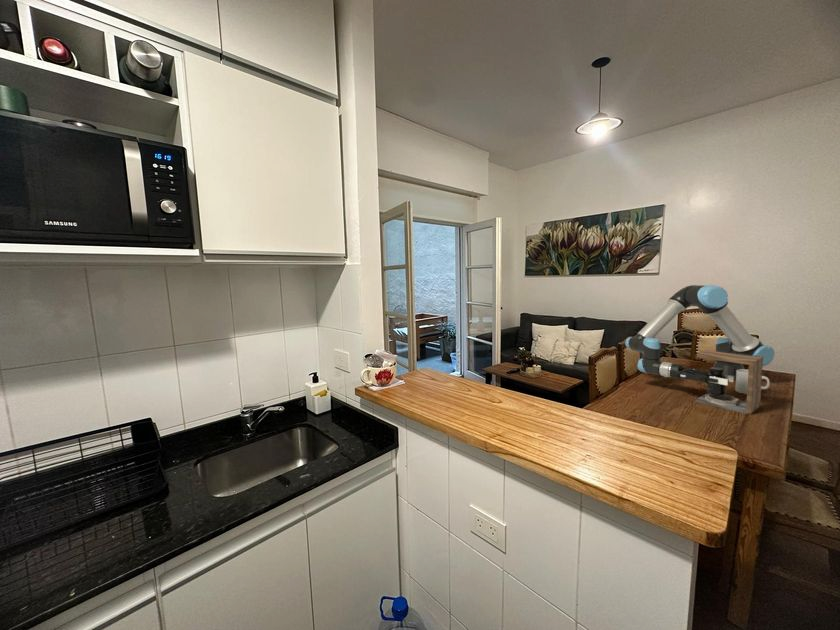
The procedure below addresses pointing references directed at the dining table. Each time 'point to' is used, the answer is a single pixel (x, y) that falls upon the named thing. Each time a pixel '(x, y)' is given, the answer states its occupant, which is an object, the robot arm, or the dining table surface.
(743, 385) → the mug
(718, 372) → the supplement bottle
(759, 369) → the awning stand
